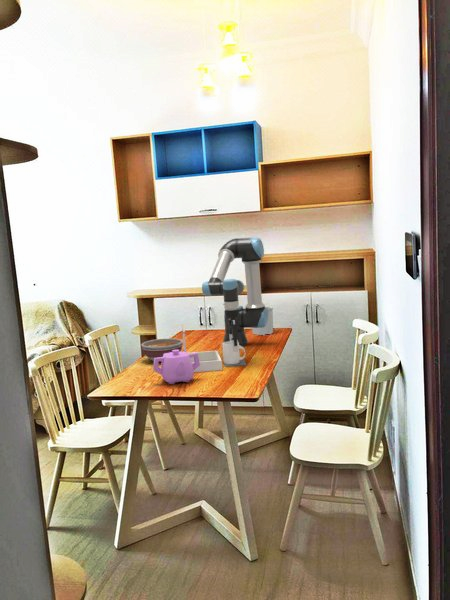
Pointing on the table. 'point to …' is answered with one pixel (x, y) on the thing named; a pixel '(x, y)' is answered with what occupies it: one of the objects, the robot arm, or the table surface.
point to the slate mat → (241, 363)
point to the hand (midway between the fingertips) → (234, 349)
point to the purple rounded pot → (176, 366)
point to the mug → (231, 353)
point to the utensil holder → (269, 326)
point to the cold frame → (205, 358)
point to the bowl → (160, 347)
